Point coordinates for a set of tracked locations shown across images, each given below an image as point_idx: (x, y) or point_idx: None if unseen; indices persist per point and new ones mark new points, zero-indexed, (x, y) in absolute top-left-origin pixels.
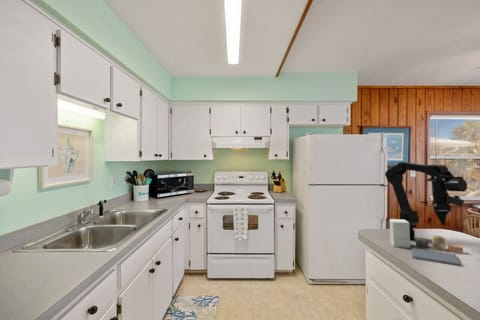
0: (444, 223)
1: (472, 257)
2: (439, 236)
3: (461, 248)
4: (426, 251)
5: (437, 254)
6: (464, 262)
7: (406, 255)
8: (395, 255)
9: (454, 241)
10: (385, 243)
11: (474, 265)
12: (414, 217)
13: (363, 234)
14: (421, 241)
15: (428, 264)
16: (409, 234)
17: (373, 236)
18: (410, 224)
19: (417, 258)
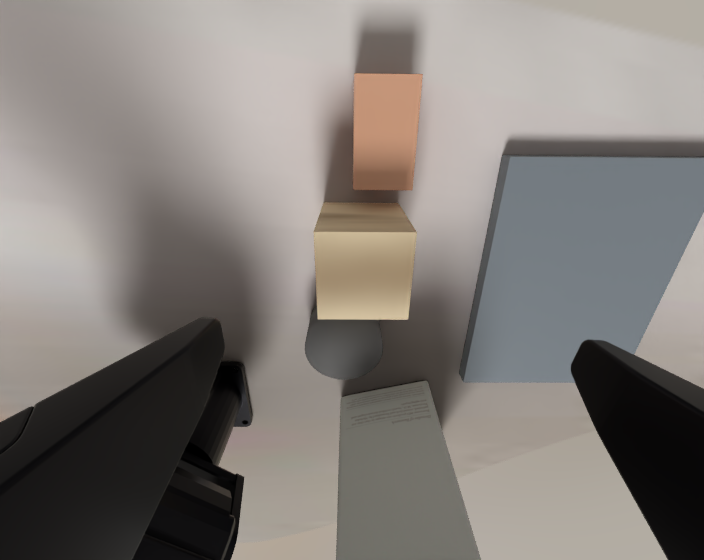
0: (634, 360)
1: (478, 18)
2: (344, 269)
3: (418, 88)
4: (511, 320)
5: (556, 268)
6: (626, 113)
7: (569, 393)
8: (583, 429)
9: (14, 86)
10: None
11: (683, 50)
12: (141, 555)
13: (280, 535)
14: (376, 353)
15: (698, 315)
16: (450, 460)
17: (289, 506)
18: (215, 488)
19: None
